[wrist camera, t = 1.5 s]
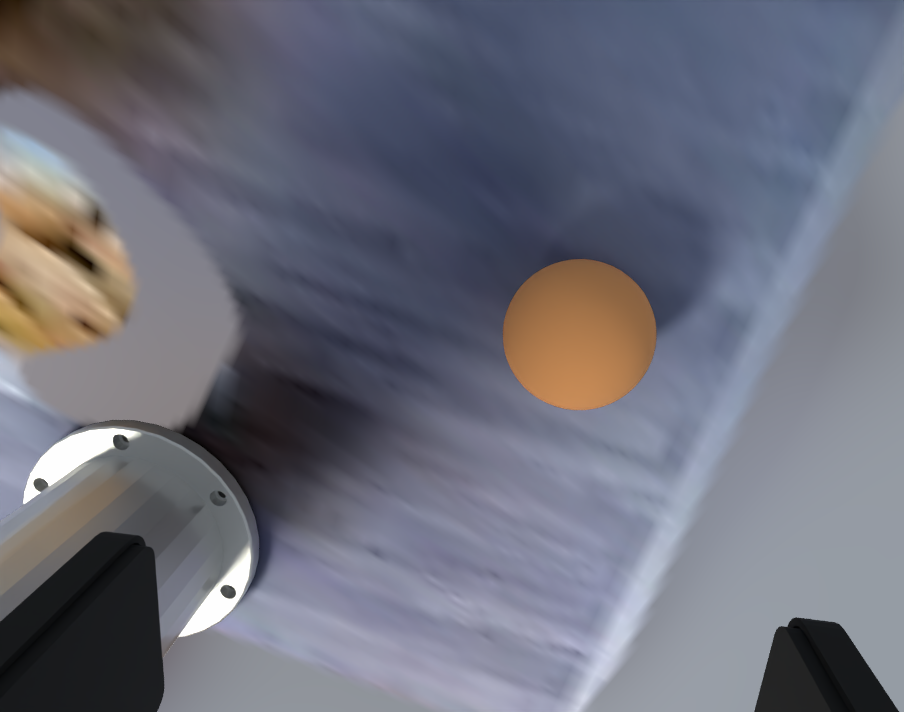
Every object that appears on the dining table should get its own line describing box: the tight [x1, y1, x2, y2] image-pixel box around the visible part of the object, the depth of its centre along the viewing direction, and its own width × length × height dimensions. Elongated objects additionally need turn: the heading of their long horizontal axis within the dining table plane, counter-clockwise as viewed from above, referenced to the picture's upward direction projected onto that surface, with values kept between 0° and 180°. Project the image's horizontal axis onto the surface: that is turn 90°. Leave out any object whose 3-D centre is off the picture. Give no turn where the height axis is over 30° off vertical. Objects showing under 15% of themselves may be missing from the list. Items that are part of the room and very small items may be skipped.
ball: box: [503, 259, 657, 410], centre depth 27 cm, size 6×6×6 cm
